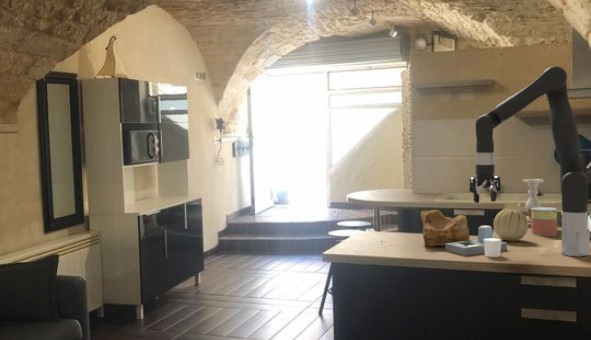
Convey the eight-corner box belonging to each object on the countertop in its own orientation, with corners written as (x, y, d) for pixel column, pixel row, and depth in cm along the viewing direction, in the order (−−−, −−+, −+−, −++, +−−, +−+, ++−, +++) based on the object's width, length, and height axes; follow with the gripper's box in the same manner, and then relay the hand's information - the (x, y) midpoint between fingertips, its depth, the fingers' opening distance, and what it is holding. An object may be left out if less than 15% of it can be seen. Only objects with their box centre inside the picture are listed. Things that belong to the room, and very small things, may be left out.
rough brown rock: (406, 247, 266) (404, 214, 264) (427, 238, 277) (426, 207, 275) (451, 256, 249) (450, 221, 247) (472, 246, 260) (472, 213, 258)
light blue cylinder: (492, 249, 250) (492, 226, 249) (484, 250, 248) (484, 227, 248) (485, 247, 254) (485, 225, 253) (478, 248, 252) (478, 226, 251)
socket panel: (506, 251, 248) (506, 242, 248) (463, 256, 239) (463, 247, 239) (486, 246, 259) (486, 237, 259) (445, 251, 250) (445, 242, 250)
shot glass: (497, 254, 242) (497, 237, 242) (504, 258, 235) (504, 240, 235) (481, 255, 242) (480, 238, 241) (487, 258, 235) (486, 241, 235)
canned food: (561, 235, 279) (561, 209, 278) (536, 236, 279) (536, 210, 279) (551, 231, 290) (551, 206, 290) (527, 231, 291) (527, 207, 290)
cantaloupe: (490, 242, 266) (490, 209, 265) (496, 237, 279) (496, 205, 278) (526, 245, 259) (526, 210, 258) (530, 239, 272) (530, 206, 271)
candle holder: (517, 225, 310) (516, 179, 308) (532, 223, 314) (532, 178, 313) (533, 228, 300) (533, 180, 298) (549, 226, 304) (549, 179, 303)
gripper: (477, 164, 243) (477, 204, 244) (504, 163, 248) (504, 201, 250) (465, 163, 250) (465, 202, 251) (492, 162, 255) (492, 200, 256)
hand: (485, 202), depth 250 cm, fingers open, 8 cm apart
